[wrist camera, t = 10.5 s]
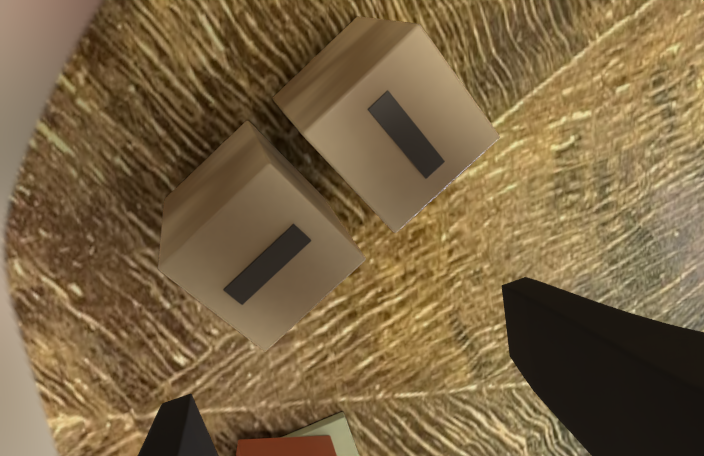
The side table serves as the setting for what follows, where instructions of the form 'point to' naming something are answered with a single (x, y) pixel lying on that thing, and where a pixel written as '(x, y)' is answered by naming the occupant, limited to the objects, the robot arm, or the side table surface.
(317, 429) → the word mat
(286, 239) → the beige dark-barred block
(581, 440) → the robot arm
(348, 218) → the side table surface
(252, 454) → the red slotted block
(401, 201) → the tan rectangular block
